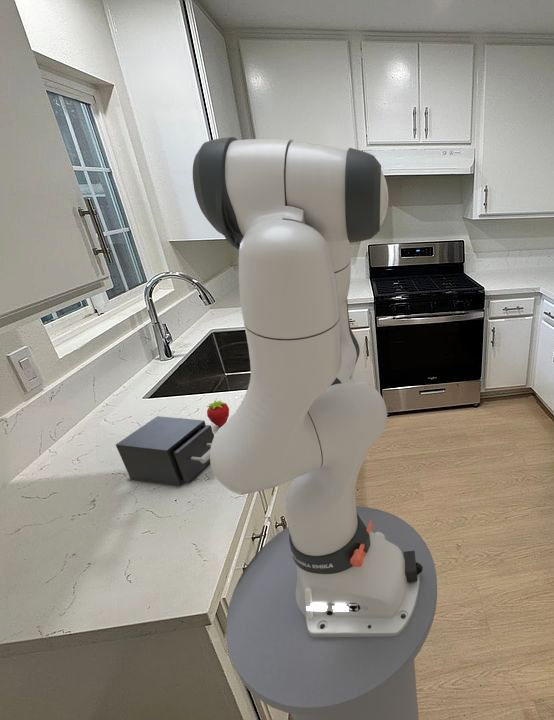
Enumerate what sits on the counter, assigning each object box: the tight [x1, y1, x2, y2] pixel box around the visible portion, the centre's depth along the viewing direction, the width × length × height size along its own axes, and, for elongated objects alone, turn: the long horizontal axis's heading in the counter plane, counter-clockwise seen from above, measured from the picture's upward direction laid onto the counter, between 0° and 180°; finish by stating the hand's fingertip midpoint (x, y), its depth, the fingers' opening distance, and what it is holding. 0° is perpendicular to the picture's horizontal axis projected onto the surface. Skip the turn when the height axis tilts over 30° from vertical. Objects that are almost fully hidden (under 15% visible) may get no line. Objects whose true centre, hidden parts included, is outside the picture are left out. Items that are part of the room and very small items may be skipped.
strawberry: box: [206, 399, 230, 428], centre depth 115 cm, size 6×8×10 cm
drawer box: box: [115, 415, 207, 487], centre depth 99 cm, size 15×13×11 cm
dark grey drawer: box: [170, 424, 215, 483], centre depth 98 cm, size 18×11×9 cm, turn 78°
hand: (238, 412), depth 85 cm, fingers closed
